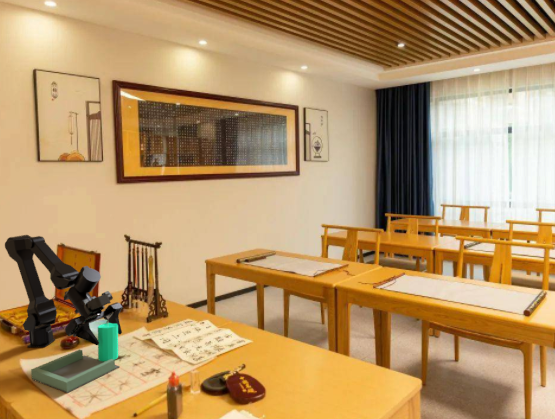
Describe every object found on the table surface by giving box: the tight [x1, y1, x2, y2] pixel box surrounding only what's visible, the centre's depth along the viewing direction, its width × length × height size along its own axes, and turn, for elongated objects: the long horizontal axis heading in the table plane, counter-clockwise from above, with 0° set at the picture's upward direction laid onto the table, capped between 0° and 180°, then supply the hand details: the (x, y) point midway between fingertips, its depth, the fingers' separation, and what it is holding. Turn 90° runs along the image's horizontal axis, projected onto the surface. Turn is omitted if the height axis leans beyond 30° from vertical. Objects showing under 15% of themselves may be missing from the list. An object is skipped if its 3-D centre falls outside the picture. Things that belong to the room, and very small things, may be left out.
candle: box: [97, 322, 119, 362], centre depth 137 cm, size 6×6×12 cm
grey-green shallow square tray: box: [30, 349, 120, 394], centre depth 128 cm, size 17×17×3 cm
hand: (109, 338), depth 136 cm, fingers open, 9 cm apart
